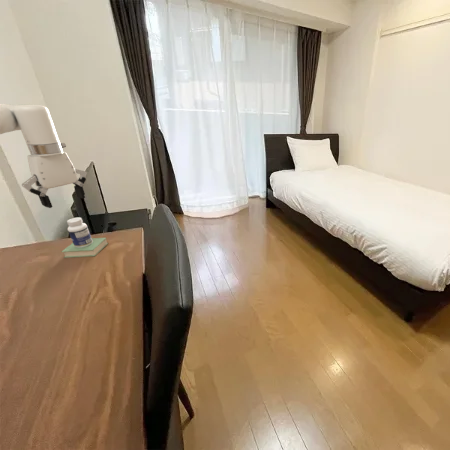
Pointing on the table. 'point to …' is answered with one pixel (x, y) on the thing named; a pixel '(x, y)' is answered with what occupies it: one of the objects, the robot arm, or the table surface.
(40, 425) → the table surface
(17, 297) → the table surface
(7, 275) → the table surface
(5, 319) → the table surface
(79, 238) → the pill bottle
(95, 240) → the book
